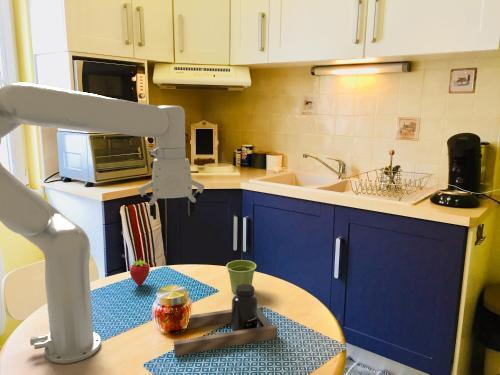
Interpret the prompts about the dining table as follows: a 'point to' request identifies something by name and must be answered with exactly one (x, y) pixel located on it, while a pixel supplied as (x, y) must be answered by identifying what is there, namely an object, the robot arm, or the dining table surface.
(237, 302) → the supplement bottle
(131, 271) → the strawberry
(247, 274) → the plant pot
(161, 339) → the dining table surface
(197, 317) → the channel
